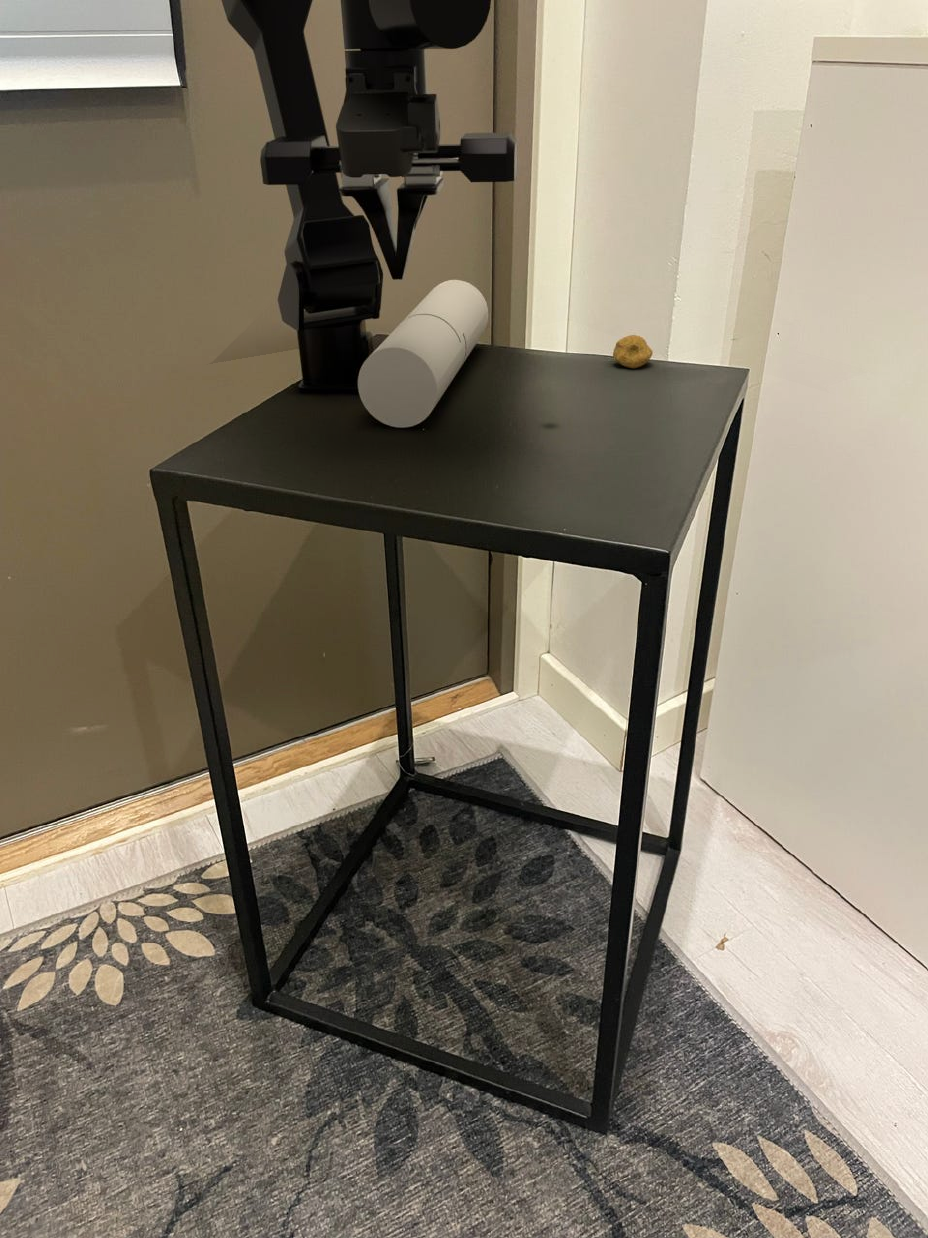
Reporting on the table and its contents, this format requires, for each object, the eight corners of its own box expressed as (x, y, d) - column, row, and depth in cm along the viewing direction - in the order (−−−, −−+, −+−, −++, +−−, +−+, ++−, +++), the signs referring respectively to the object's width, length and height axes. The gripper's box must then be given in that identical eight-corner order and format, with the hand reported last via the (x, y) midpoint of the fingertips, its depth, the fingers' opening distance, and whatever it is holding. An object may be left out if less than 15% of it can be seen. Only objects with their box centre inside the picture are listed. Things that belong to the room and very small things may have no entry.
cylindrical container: (443, 424, 81) (492, 342, 101) (429, 342, 77) (483, 275, 98) (367, 430, 83) (430, 349, 103) (349, 351, 79) (419, 283, 100)
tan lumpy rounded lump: (606, 364, 96) (608, 337, 94) (634, 357, 98) (636, 330, 96) (630, 372, 93) (633, 344, 92) (658, 364, 95) (661, 337, 94)
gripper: (222, 55, 59) (256, 304, 68) (511, 47, 58) (510, 303, 66) (267, 51, 69) (293, 270, 77) (518, 45, 67) (516, 269, 75)
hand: (398, 278), depth 74 cm, fingers closed
